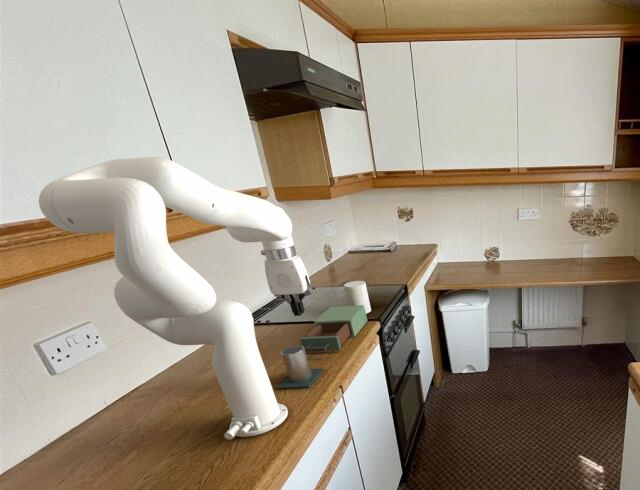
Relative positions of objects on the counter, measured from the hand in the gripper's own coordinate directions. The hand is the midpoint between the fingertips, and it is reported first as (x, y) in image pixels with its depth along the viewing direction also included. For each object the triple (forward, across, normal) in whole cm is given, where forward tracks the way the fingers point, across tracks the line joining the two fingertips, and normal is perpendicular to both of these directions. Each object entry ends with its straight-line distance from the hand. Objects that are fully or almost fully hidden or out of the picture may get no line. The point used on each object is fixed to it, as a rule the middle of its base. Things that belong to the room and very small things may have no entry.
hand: (299, 314), depth 121 cm
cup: (+18, 0, +44) cm, 47 cm away
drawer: (+16, 0, +11) cm, 19 cm away
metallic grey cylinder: (+16, 0, -10) cm, 19 cm away
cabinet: (+17, 0, +26) cm, 31 cm away
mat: (+17, 0, -10) cm, 19 cm away
